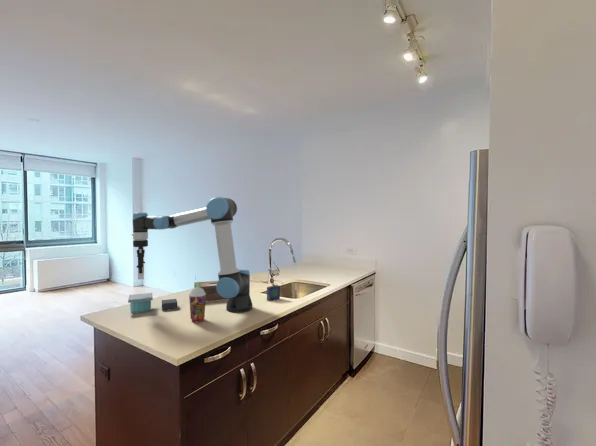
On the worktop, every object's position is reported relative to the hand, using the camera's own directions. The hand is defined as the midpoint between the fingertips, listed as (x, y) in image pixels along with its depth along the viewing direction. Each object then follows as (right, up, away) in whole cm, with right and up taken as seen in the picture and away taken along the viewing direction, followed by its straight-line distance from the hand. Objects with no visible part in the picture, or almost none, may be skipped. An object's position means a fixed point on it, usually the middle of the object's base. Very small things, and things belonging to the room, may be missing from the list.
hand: (141, 277), depth 176 cm
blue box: (+73, -19, +25) cm, 80 cm away
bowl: (0, -19, +1) cm, 19 cm away
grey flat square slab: (0, -13, 0) cm, 13 cm away
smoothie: (+37, -20, -16) cm, 45 cm away
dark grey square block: (+14, -19, +5) cm, 24 cm away
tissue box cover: (+35, -19, +29) cm, 49 cm away
